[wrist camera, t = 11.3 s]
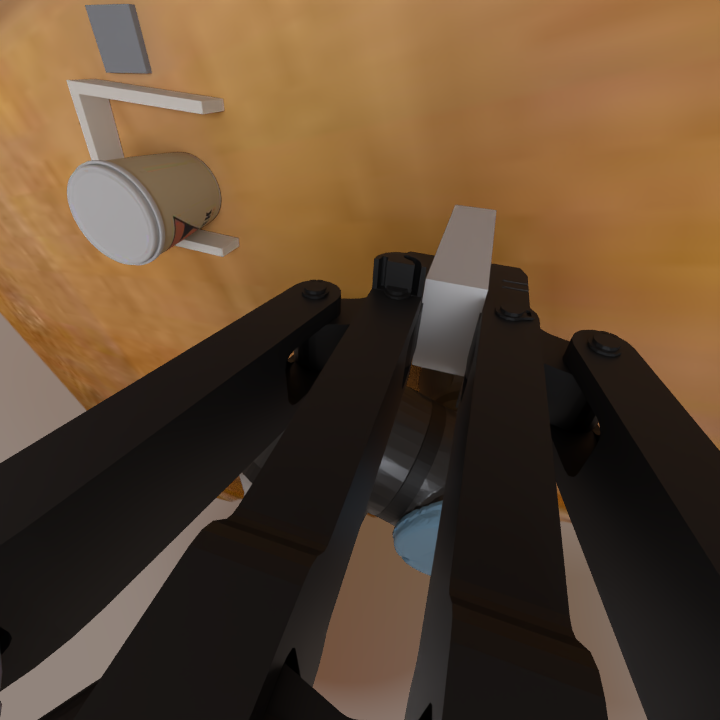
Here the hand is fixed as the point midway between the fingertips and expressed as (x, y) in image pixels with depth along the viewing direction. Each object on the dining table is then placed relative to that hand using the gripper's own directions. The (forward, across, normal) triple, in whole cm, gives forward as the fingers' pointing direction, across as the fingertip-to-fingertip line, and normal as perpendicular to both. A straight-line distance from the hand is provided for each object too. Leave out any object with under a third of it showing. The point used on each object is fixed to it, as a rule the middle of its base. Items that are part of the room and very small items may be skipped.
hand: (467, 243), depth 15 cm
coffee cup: (+24, +32, +7) cm, 41 cm away
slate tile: (+25, +36, -6) cm, 44 cm away
